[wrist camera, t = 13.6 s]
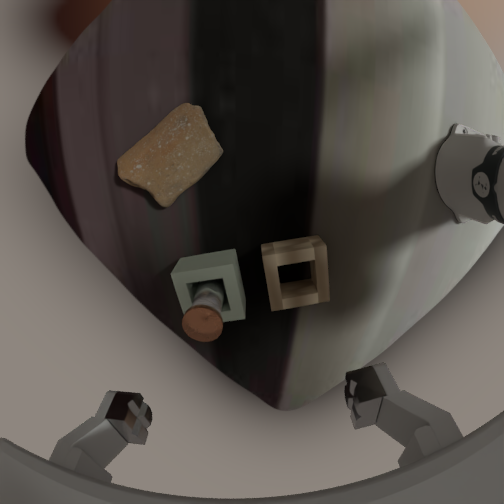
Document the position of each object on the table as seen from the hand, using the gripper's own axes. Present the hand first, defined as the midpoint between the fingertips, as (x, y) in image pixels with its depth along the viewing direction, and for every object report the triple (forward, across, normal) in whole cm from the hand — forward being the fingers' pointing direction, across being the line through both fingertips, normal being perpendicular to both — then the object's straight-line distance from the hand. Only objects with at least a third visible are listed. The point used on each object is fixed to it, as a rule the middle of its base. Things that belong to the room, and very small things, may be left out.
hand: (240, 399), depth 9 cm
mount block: (+33, -6, +10) cm, 35 cm away
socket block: (+33, +7, +10) cm, 35 cm away
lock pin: (+33, +7, +10) cm, 35 cm away
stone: (+34, +10, -10) cm, 37 cm away
